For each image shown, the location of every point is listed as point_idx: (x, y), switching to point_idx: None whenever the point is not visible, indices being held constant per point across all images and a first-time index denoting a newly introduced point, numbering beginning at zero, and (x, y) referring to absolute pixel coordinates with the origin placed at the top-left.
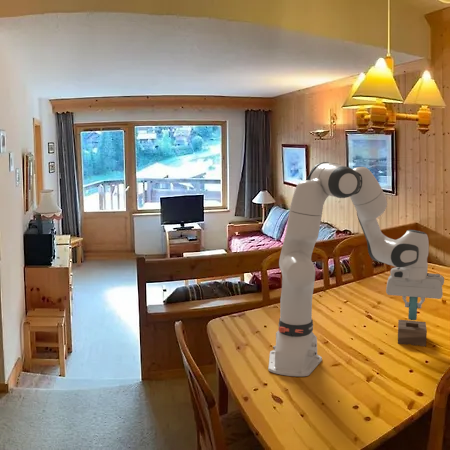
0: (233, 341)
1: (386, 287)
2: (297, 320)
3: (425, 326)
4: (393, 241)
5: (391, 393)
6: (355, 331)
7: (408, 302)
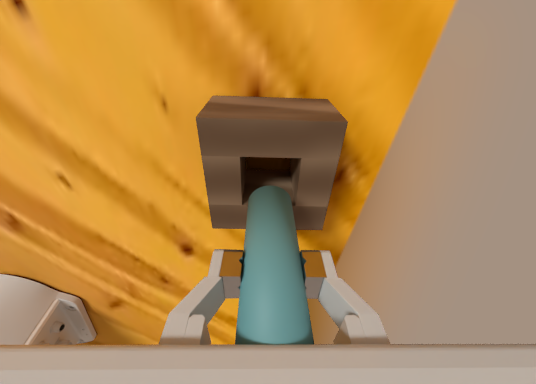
0: None
1: None
2: None
3: (329, 185)
4: None
5: (229, 343)
6: (29, 103)
7: (235, 285)
